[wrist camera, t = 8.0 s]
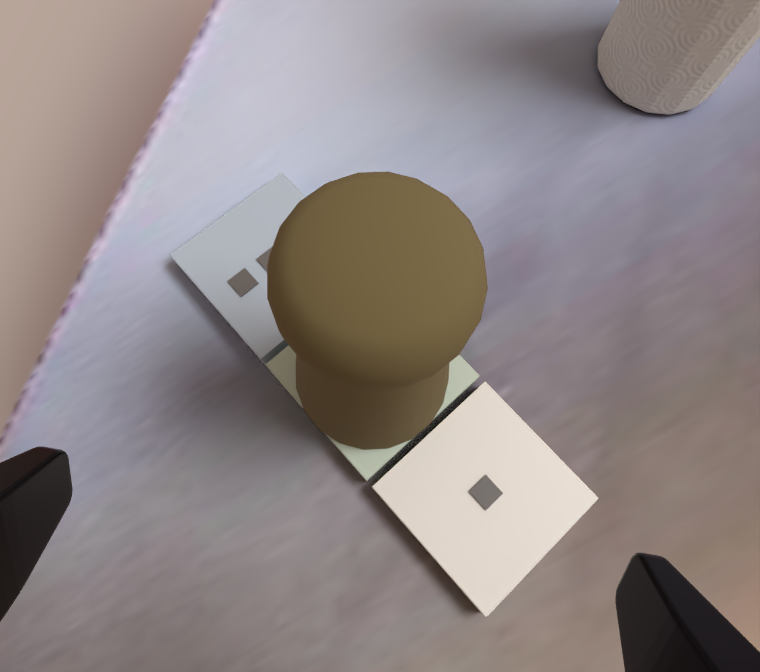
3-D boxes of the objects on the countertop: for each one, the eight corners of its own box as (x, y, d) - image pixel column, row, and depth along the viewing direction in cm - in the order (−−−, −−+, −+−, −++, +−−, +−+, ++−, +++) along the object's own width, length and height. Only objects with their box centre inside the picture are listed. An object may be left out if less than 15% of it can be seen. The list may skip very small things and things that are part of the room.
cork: (268, 411, 22) (179, 317, 12) (334, 277, 24) (311, 90, 13) (412, 476, 21) (460, 440, 11) (471, 335, 23) (560, 187, 13)
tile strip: (480, 612, 21) (486, 617, 20) (177, 264, 25) (169, 254, 24) (588, 498, 22) (599, 498, 21) (285, 184, 26) (281, 171, 25)
